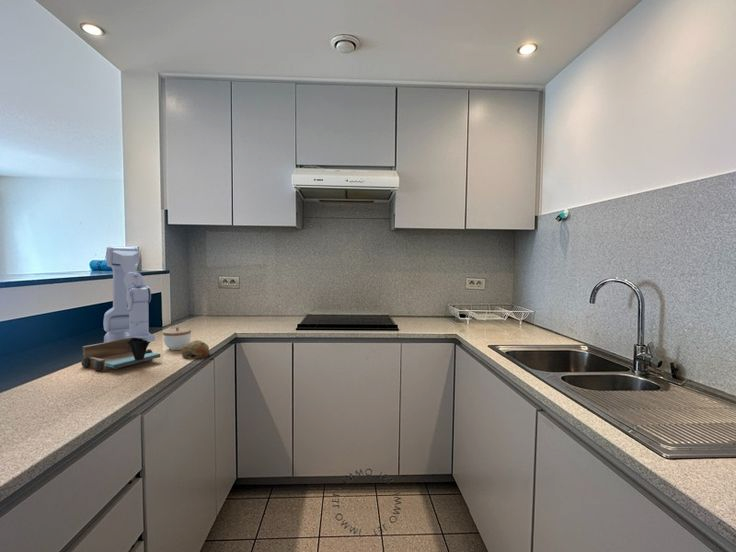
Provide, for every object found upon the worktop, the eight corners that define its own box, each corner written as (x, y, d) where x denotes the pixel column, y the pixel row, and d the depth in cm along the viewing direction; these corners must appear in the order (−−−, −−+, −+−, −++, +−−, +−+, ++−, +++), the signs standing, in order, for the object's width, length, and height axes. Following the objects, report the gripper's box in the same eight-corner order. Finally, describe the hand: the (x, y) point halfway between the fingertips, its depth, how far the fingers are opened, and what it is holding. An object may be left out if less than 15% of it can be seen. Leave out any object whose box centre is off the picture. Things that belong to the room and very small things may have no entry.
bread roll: (180, 367, 134) (177, 351, 130) (186, 350, 142) (183, 335, 139) (207, 366, 136) (206, 350, 133) (211, 349, 145) (210, 334, 141)
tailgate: (106, 362, 116) (114, 364, 114) (151, 352, 130) (160, 353, 128) (106, 366, 116) (114, 368, 114) (151, 355, 130) (160, 357, 128)
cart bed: (79, 366, 121) (79, 347, 121) (132, 354, 137) (132, 337, 137) (101, 372, 115) (101, 352, 115) (154, 359, 131) (154, 341, 131)
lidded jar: (192, 344, 155) (192, 324, 155) (189, 350, 145) (189, 328, 145) (165, 346, 152) (165, 325, 151) (160, 352, 141) (160, 330, 141)
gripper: (114, 321, 120) (114, 359, 120) (139, 325, 114) (140, 365, 114) (135, 318, 126) (135, 354, 127) (160, 321, 120) (160, 360, 120)
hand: (139, 359), depth 121 cm, fingers closed
